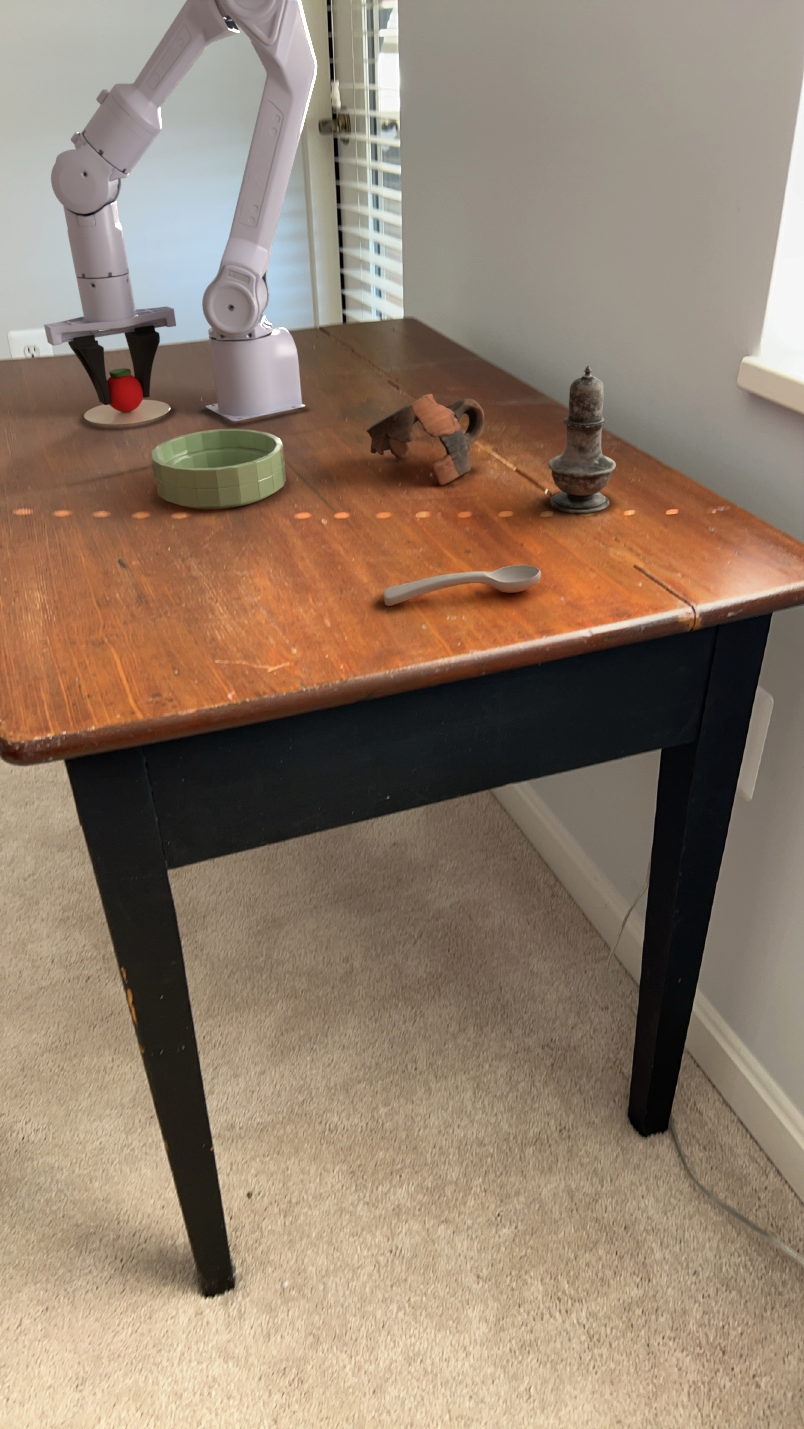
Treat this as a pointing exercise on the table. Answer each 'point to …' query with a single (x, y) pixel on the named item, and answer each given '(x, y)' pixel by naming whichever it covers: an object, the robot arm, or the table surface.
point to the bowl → (219, 468)
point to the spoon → (500, 579)
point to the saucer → (127, 413)
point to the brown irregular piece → (432, 433)
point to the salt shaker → (582, 451)
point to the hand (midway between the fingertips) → (125, 399)
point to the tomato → (124, 390)
